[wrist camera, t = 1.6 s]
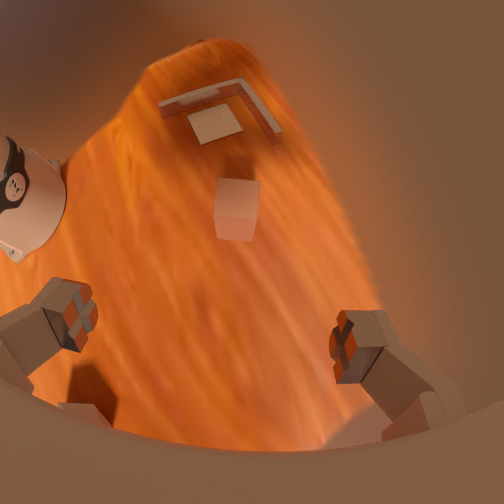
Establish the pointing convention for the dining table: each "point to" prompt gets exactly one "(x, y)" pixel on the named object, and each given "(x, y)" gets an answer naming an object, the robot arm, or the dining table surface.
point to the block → (236, 209)
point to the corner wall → (221, 111)
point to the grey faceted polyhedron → (85, 412)
